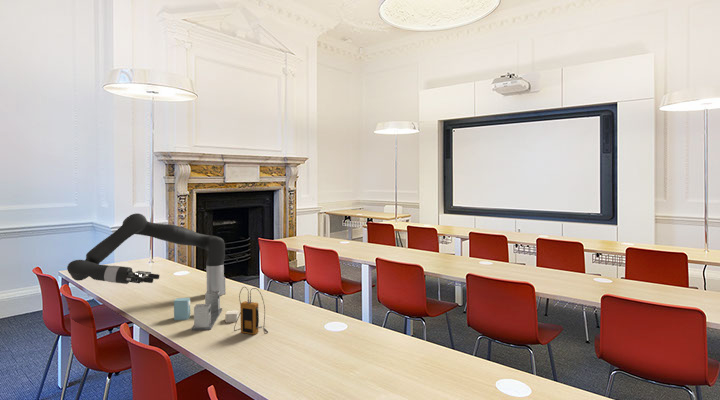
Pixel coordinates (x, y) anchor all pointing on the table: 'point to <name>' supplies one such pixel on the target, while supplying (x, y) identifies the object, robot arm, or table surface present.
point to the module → (181, 309)
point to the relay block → (231, 316)
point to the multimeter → (249, 316)
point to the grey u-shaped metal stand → (207, 311)
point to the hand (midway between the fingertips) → (156, 278)
